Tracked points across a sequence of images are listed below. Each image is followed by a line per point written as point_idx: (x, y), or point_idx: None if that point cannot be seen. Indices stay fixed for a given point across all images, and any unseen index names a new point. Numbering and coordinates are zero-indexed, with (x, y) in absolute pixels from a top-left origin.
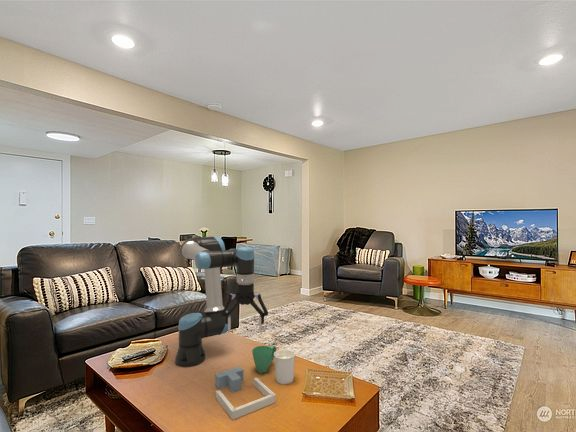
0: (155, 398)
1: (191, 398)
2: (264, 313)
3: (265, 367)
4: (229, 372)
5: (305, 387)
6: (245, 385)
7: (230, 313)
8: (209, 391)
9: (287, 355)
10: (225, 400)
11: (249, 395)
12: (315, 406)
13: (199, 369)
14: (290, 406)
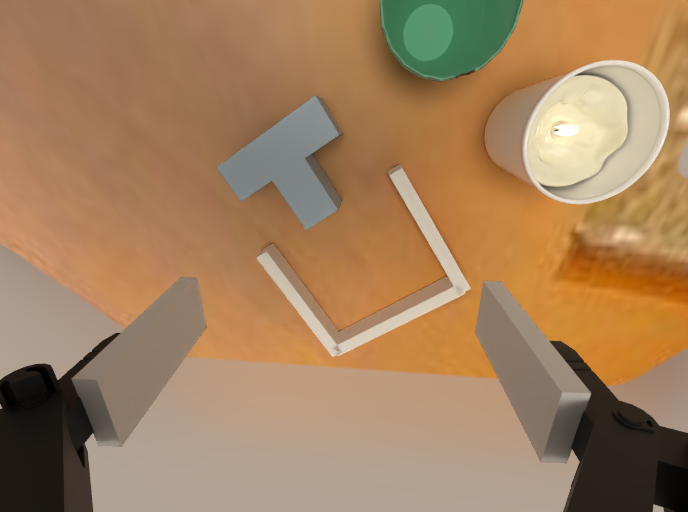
0: (65, 236)
1: (181, 243)
2: (663, 502)
3: (448, 64)
4: (277, 158)
5: None
6: (354, 171)
7: (89, 501)
8: (226, 205)
9: (608, 74)
10: (301, 308)
11: (374, 237)
12: (590, 306)
13: (111, 13)
14: None
